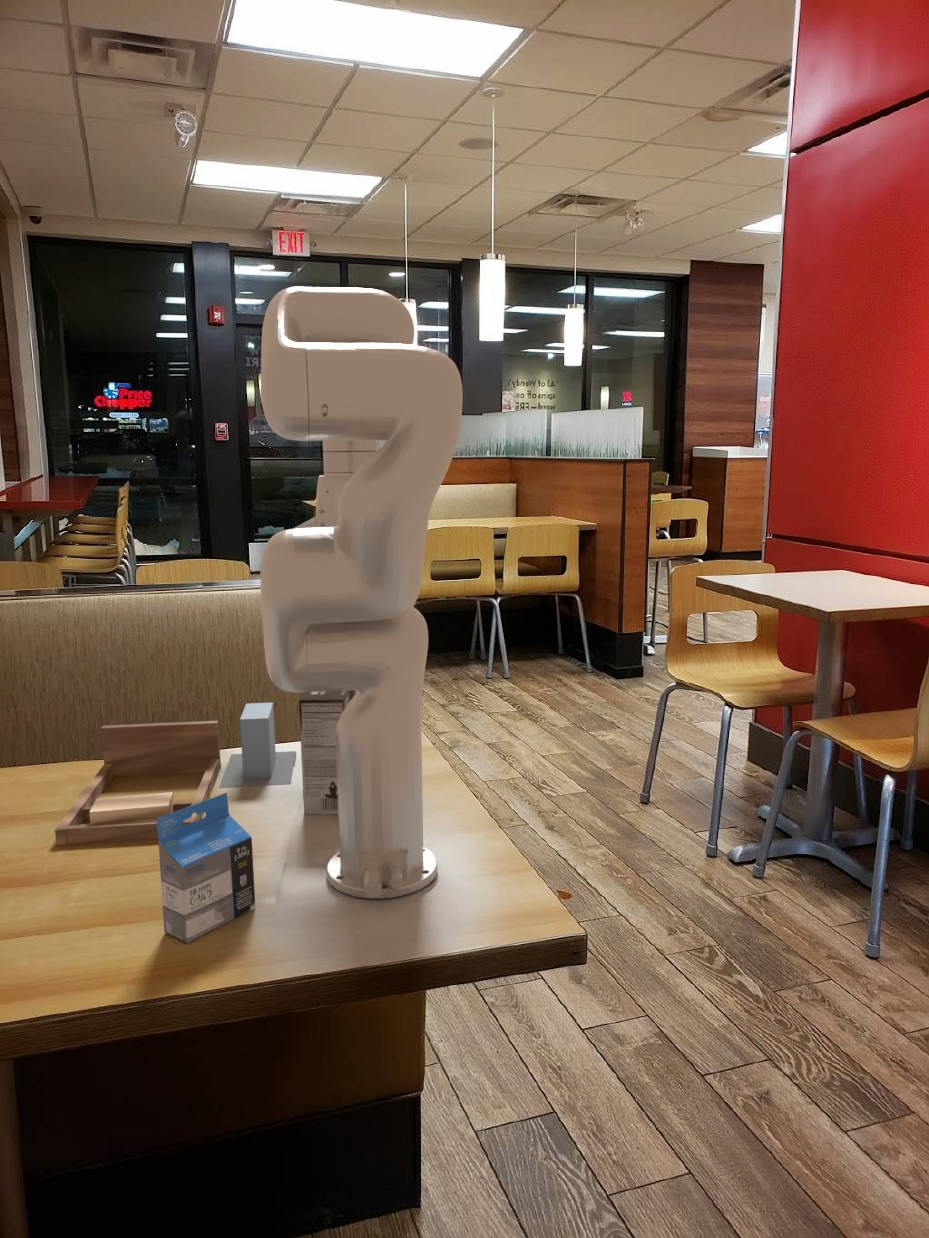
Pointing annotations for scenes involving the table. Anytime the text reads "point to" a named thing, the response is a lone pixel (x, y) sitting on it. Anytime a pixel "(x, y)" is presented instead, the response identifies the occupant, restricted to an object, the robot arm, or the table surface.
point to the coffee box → (320, 748)
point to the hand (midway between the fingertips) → (355, 588)
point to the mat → (279, 777)
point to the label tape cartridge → (204, 869)
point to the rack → (144, 755)
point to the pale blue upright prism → (258, 740)
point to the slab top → (131, 807)
